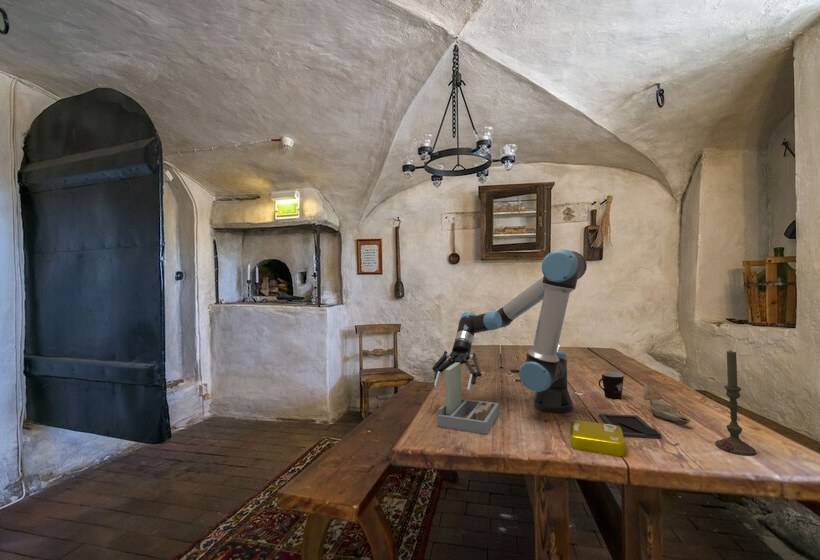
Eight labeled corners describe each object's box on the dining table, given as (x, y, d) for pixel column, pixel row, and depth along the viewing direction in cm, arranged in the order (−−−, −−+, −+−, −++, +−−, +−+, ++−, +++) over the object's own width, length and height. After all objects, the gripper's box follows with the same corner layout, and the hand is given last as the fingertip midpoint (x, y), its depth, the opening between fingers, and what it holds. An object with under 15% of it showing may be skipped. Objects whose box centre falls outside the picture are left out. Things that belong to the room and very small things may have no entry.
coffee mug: (618, 394, 160) (617, 372, 160) (628, 400, 151) (627, 377, 151) (591, 393, 161) (591, 372, 161) (600, 400, 152) (599, 377, 152)
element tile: (571, 431, 123) (570, 417, 123) (621, 438, 116) (620, 423, 116) (570, 449, 109) (569, 434, 109) (626, 459, 103) (626, 442, 103)
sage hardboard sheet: (461, 412, 143) (460, 362, 143) (451, 423, 131) (449, 370, 131) (457, 411, 143) (455, 362, 144) (446, 423, 132) (444, 369, 132)
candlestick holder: (707, 442, 111) (703, 347, 111) (733, 440, 111) (730, 346, 112) (736, 456, 102) (732, 352, 102) (765, 454, 102) (761, 351, 103)
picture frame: (661, 440, 114) (637, 419, 132) (661, 434, 114) (637, 414, 132) (616, 438, 117) (599, 417, 134) (616, 432, 117) (598, 412, 134)
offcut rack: (499, 413, 140) (498, 398, 140) (486, 434, 121) (486, 416, 121) (456, 407, 148) (455, 393, 148) (437, 426, 129) (437, 410, 129)
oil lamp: (657, 407, 142) (656, 382, 142) (700, 429, 121) (699, 400, 121) (635, 408, 142) (635, 383, 142) (675, 430, 121) (674, 400, 121)
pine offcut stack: (492, 417, 136) (491, 402, 136) (486, 426, 128) (486, 410, 128) (480, 416, 138) (480, 400, 138) (474, 424, 130) (474, 408, 130)
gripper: (493, 351, 147) (485, 397, 134) (438, 347, 158) (425, 390, 145) (490, 340, 143) (481, 387, 129) (433, 337, 154) (420, 380, 140)
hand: (452, 389), depth 137 cm, fingers open, 13 cm apart
